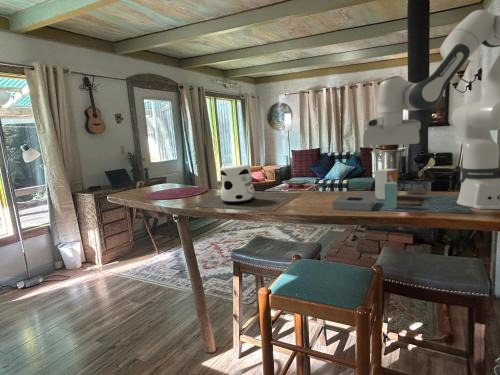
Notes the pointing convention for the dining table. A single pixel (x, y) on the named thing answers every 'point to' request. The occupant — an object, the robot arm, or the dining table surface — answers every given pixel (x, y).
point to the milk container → (236, 184)
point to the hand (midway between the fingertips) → (390, 156)
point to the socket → (355, 202)
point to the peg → (391, 195)
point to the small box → (384, 180)
